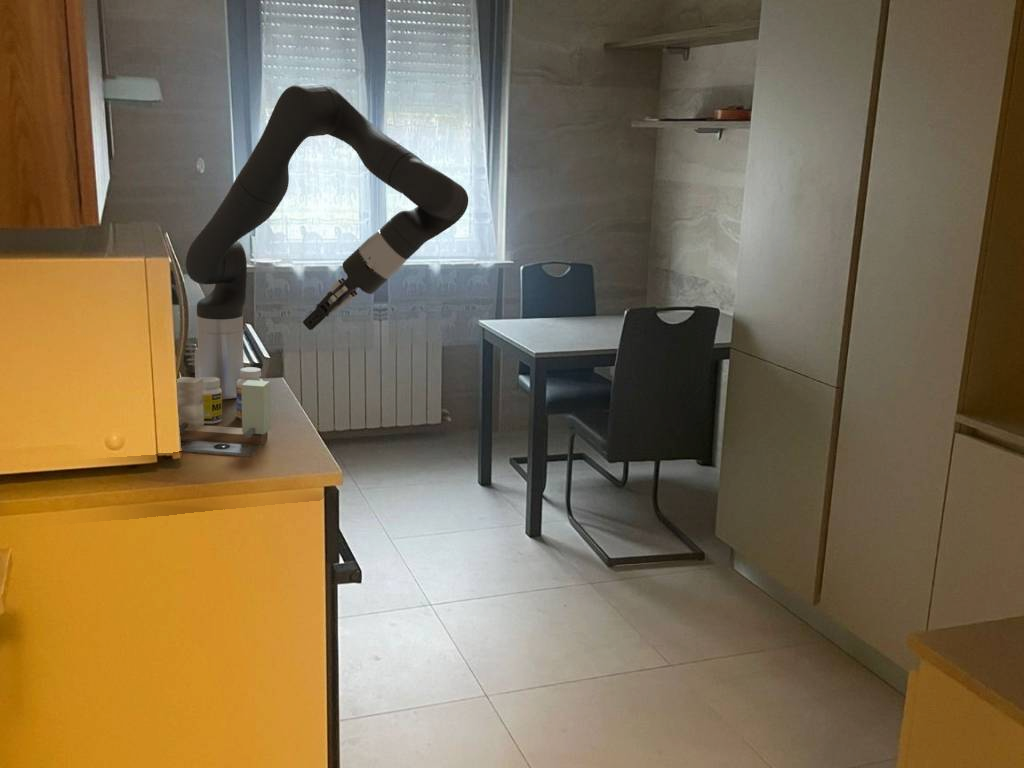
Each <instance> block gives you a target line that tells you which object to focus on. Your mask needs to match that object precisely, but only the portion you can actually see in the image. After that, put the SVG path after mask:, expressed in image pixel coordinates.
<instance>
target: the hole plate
mask: <svg viewBox="0 0 1024 768" xmlns="http://www.w3.org/2000/svg"><path fill="white" fill-rule="evenodd" d="M260 447H261V446H260V445H255V444H242V443H229V442H215V441H202V440H188V439H181V448H182V452H181V453H185V452H186V453H193V452H197V453H196V454H207V453H210V454H209V455H220V454H226V455H225V456H233V455H235V456H236V457H237V456H239V457H246V456H247V457H248V456H249V458H251V457H252V456H253V455H254V454H255V453H256V452H258V450H259V449H260ZM212 453H214V454H212ZM253 453H254V454H253ZM235 456H234V457H235Z"/></svg>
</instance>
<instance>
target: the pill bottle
mask: <svg viewBox="0 0 1024 768" xmlns="http://www.w3.org/2000/svg"><path fill="white" fill-rule="evenodd" d="M261 376H262V369H261V368H259V367H253V366H249V367H247V366H246V367H243V368H242V369H240V377H241V379H239V380H238V381H237V384H236V390H237V398H236V417H237V418H238V419H240V420H242V386H241V385H242V384H243V383H245V382H246V381H247V380H256V381H264V380H263V379H262V378H261Z"/></svg>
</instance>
